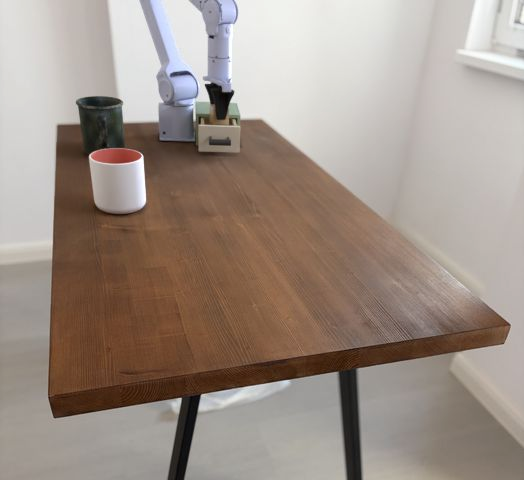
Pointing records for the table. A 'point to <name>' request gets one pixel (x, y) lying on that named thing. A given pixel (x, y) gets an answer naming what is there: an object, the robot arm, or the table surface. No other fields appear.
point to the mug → (101, 123)
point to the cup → (118, 180)
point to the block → (214, 119)
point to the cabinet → (204, 111)
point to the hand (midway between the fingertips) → (218, 117)
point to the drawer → (218, 136)
